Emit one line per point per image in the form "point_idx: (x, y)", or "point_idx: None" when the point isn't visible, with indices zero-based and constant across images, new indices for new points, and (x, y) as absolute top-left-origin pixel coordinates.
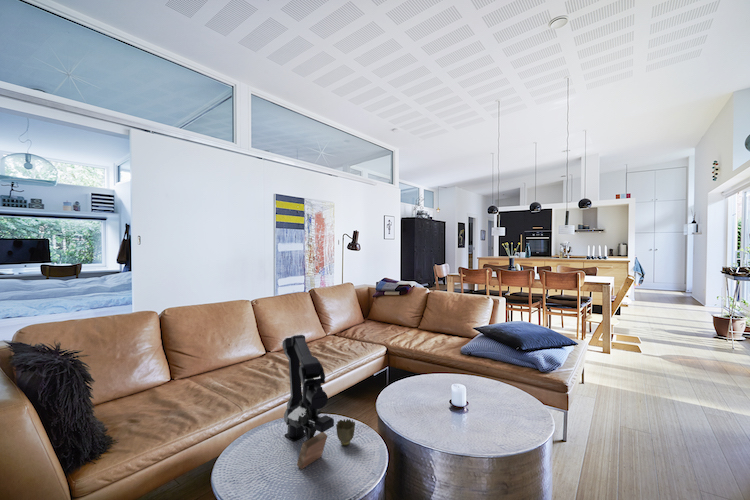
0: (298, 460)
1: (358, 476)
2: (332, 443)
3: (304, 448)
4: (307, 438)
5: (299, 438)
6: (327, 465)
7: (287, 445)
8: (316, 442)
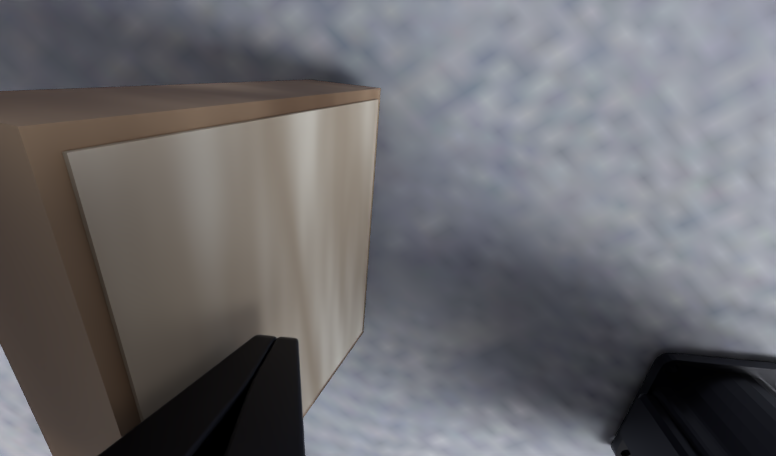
0: (343, 90)
1: None
2: (359, 447)
3: (63, 99)
4: (275, 375)
5: (638, 395)
6: None
7: (694, 287)
8: (14, 360)
